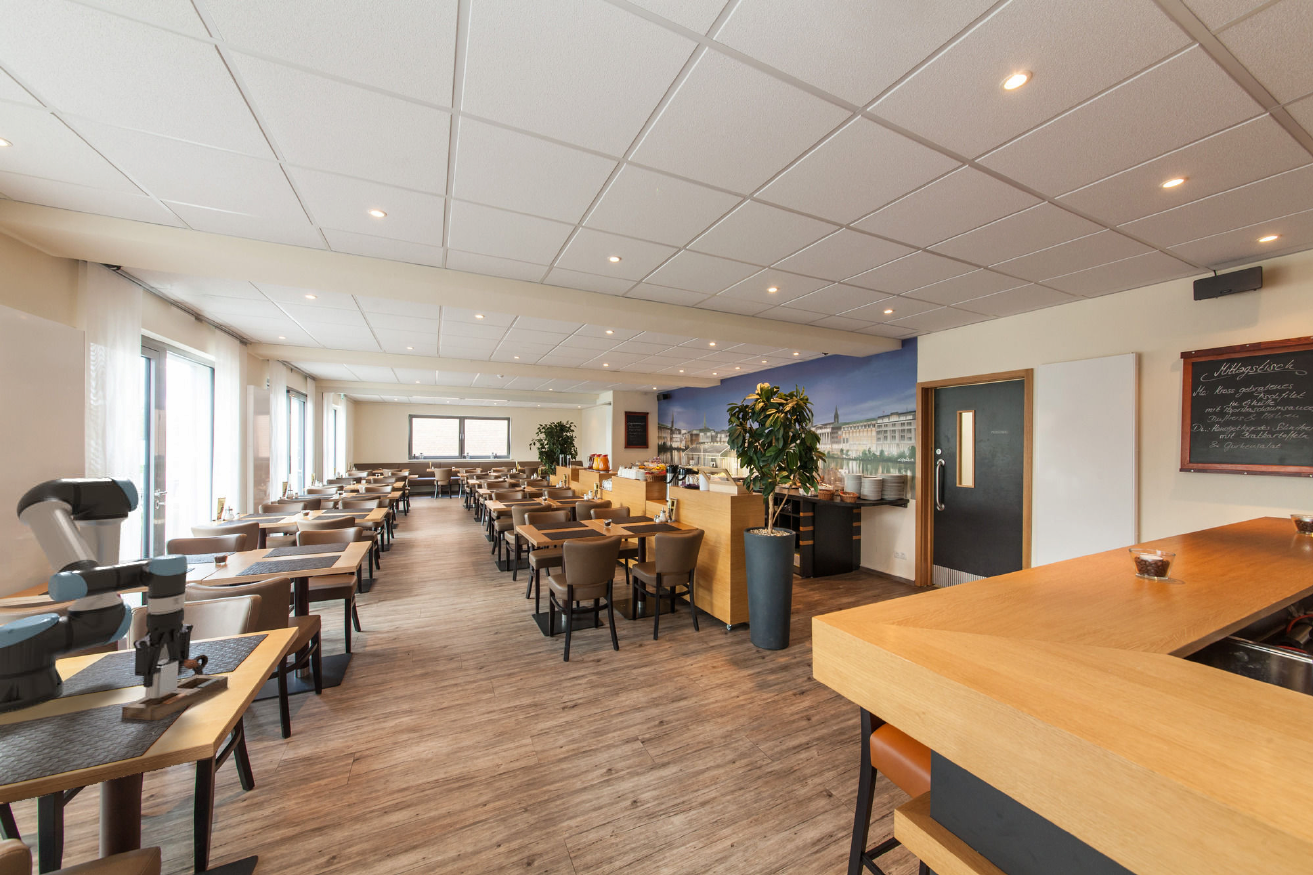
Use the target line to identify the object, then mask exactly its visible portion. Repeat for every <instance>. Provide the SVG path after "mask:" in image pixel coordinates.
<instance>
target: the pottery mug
mask: <svg viewBox="0 0 1313 875" xmlns="http://www.w3.org/2000/svg"><path fill="white" fill-rule="evenodd" d="M184 661H185V662H184V664H182V665H181V666H180V674H181V673H182V671H181V669H182V667H184V668H186V669H188V670H192V671H193V672H194V673H193V674H192V675H191V676H190V677H192V676H194V675H204V672H203V669H204V668H205V667H206V666H207V665H208V662H209V657H208V656H207V655H206V654H199V655H198V656H196V657H195V658H190V657H189V658H188V659H186V660H184ZM200 661H201V663H200ZM190 677H188V678H190Z"/></svg>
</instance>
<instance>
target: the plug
mask: <svg viewBox="0 0 1313 875" xmlns="http://www.w3.org/2000/svg"><path fill="white" fill-rule="evenodd" d="M155 673H157V674H158V685H157V697H156V698H161V697H163V696H166V695H168V694H170V693H172V692H174V691H177V683H178V681H177V678H179V677H178V676H179V675H178V661H176V660H168V659H164V660H161V661H159V662H158V664H157V667H156V671H155Z"/></svg>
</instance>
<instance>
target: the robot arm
mask: <svg viewBox="0 0 1313 875" xmlns="http://www.w3.org/2000/svg"><path fill="white" fill-rule="evenodd" d="M137 489H138V488H136V486H135V483H134V482H133V481H131V480H130V479H128V478H126V477H115V476H114V477H111V476H108V477H106V476H105V477H82V478H81V477H80V478H76V477H75V478H55V479H51V480H47V481H44V482H41V483H38V484H36V485H35V486H33V487H31V488H29V490H27V491H26V493H24V494H22V496H21V498H20V499H19V501H18V502H17V504H16V505H17V506H16V514H17V517H18V519H19V521H20V522H21V525H22V524H23V525H24V526H25V527H28V528H30V529H31V532H32V533H33V535H34V537H35V539H36V541H37V542H38V545H39V546H40V548H41V550H42V551H43V553H44V555H45V558H46V559H47V561H48V562H49V565H50V566H51V568H52V570H53V572H54V574H52V575H51V577H50V578H49V581H47V582H48V584H47V591H48V595H49V598H50V599H51V601H52V600H53V601H55V602H65V601H71V600H75V602H74V603H72V604H71V605H70V606H68V607H67V612H66V615H62V616H60V615H59V614H58V613H55V612H54V613H53V612H52V613H43V614H40V615H39V614H38V615H37V614H36V615H31V616H27V617H24V618H20V619H17V620H14V621H11V622H8V623H5V624H4V625H1V626H0V714H2V713H3V714H4V713H8V712H14V711H18V710H22V709H26V708H29V707H33V706H35V705H38V704H41V703H44V702H47V701H50V700H51V699H54V698H56V697H58V696H59V695H61V694H62V693H63V692H64V686H65V685H64V680H63V679H62V677H61V675H60V673H59V671H58V669H57V667H56V664H57V663H56V662H57V657H60V656H65V655H67V654H72V653H77V652H81V651H84V650H88V649H92V648H95V647H103V646H105V645H108V644H110V643H115V642H117V641H119V640H122V639H123V638H124V637H125V636H126V635H127V633H128V632H129V630H130V627H131V625H132V622H133V612H132V611H133V609H132V607H131V605H130V604H128V603H124V599H123V598H122V597H119V596H118V592H122V591H127V590H132V589H137V588H143V587H147V603H146V612H147V614H146V618H145V621H146V622H145V623H146V624H145V626H146V628H147V631H146V633H145V636H144V637H142V638H141V639H139V640H137V639H136V640H135V641H133V647H134V648H135V649H134V650H135V656H134V657H135V658H134V659H135V660H134V676H136V677H143V681H142V682H143V685H142V686H143V687H144V688H145V694H144V695H145V696H144V697H145V698H156V697H157V685H158V674H157V673H155V671H156V667H157V664H158V660H159V657H160V653H161V650H162V649H163V648H164V645H165V644H166V645H167V650H168V654H169V659H170V660H176V661H178V676H180V674H181V673H180V666H181V665H182V664H184V662H185V661H184V660H186V659H188V658H189V659H190V649H191V647H190V646H191V636H192V635H191V633H192V630H193V629H194V625H192V624H187V625H183V621H184V620H185V608H184V607H185V606H186V604H185V603H186V587H187V585H186V584H187V574H188V573H187V571H188V559H187V556H186V555H185V554H181V553H180V554H165V555H159V556H155V557H153V558H151V557H150V558H149V557H148V558H139V559H138V558H137V559H136V560H133V561H131V562H125V563H120V562H119V561H120V550H121V549H120V548H121V531H122V530H121V529H122V527H121V526H122V523H123V522H124V521H125V520H127V519H129V513H131V512H133V511H134V512H135V511H136V509H137V508H138V506H139V503H140V502H139V493H138V490H137ZM77 525H78V526H79V528H78V526H77ZM179 632H180V633H179ZM178 634H179V636H178ZM148 641H150V643H148ZM148 645H149V647H148ZM182 666H183V665H182ZM178 678H179V677H178ZM178 678H177V682H178Z"/></svg>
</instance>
